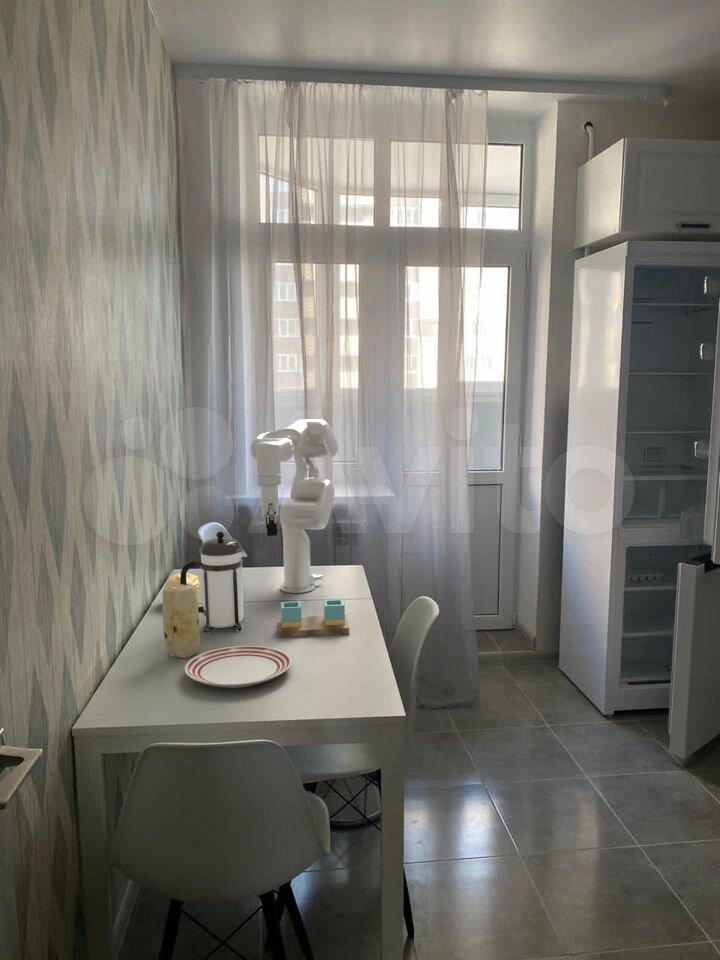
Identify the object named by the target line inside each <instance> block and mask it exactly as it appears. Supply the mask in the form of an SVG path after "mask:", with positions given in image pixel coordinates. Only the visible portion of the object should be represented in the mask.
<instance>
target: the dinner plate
mask: <svg viewBox="0 0 720 960" xmlns="http://www.w3.org/2000/svg"><path fill="white" fill-rule="evenodd" d="M291 665H292V657H290V655H289V654H288V653H286V652H284V651H282V650H280V649H278V648H274V647H269V646H268V647H267V646H263V645H235V646H226V647H222V648H221V647H219V648H217V649H211V650H208V651H205V652H202V653H200V654H198V655H196V656H193V658H191V659H190V660H189V661H187V663H186V664H185V666H184V672H185V674H186V676H187V677H189V678H190V679H191V680H193V681H196V682H198V683H200V684H204V685H206V686H212V687H219V688H225V687H227V688H226V689H232V688H233V689H237V688H246V687H251V686H256V685H258V684H259V685H260V684H262V683H265V682H267V681H271V680H273V679H275V678H277V677H279V676H280V675H282V674H283V673H285V672H286V671H287V670H288V669H290V667H291Z"/></svg>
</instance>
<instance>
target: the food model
mask: <svg viewBox="0 0 720 960" xmlns="http://www.w3.org/2000/svg"><path fill="white" fill-rule="evenodd" d="M198 607H199V602H198V598H197V593H196V588H195V587H193V586H190V585H182V584H177V585H172V586H169V587H167V588H165V589H164V588H163V591H162V625H163V626H162V627H163V634H164V635H163V636H164V642H165V646H166V647H165V648H166V650H167V652H168V655H169V656H170V657H178V658H179V659H188V658H190V657H192V656H194V655H196V654H198V653H199V652H200V650H201V645H200V641H201V640H200V639H201V638H200V635H201V634H200V633H201V632H200V613H199V611H198Z"/></svg>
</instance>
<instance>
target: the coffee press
mask: <svg viewBox="0 0 720 960" xmlns="http://www.w3.org/2000/svg"><path fill="white" fill-rule="evenodd" d="M198 550H199V551H198V552H199V555H200V561H199V560H198V561H195V560H193V561H189V562H187V563H185V564H184V565H183V567H182V568H181V570H180V571H181V572H180V573H181V575H180V584H182V585H187V581H186V574H187V573H188V571H189V570H190V569H192V568H196V567H197V568H198V567H200V569H201V583H202V585H201V586H202V587H201V588H202V605H203V606H198V611H199V614H200V613H201V614H202V615H203V620H204V623H205V625H204V627H203V629H202V631H203V632H204V633H206V634H209V633H210V632H211V630H213V628H218V629H219V628H222V629H223V628H230V627H232V628H233V629H234V631H235V632H236V631H237V630H238V631H239V632H241V631H242V627H241V623H242V622H244V620H245V617H244V597H243V595H244V594H243V592H244V591H243V568H242V566H243V558H245V557H246V558H247V557H248V554H247V553H246V552H245V550H244V549H243V546H241V544H240V542H239V541H238V540H237V539H236V538H235V539H234V538H230V537H225V534H224V531H223V532H222V531H218V532H217V533H216V538H215V537H214V538H211V539H209V540H205V542H203V543H201V546H200V548H199V549H198ZM241 621H242V622H241ZM238 631H237V632H236V633H238ZM208 632H209V633H208Z"/></svg>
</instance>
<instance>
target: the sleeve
mask: <svg viewBox="0 0 720 960" xmlns="http://www.w3.org/2000/svg"><path fill="white" fill-rule="evenodd" d="M345 611H346V608H345V602H344V599H343V598H340V599H339V598H338V599H323V616H324V622H325V625H345V615H346V614H345V613H346V612H345Z"/></svg>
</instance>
